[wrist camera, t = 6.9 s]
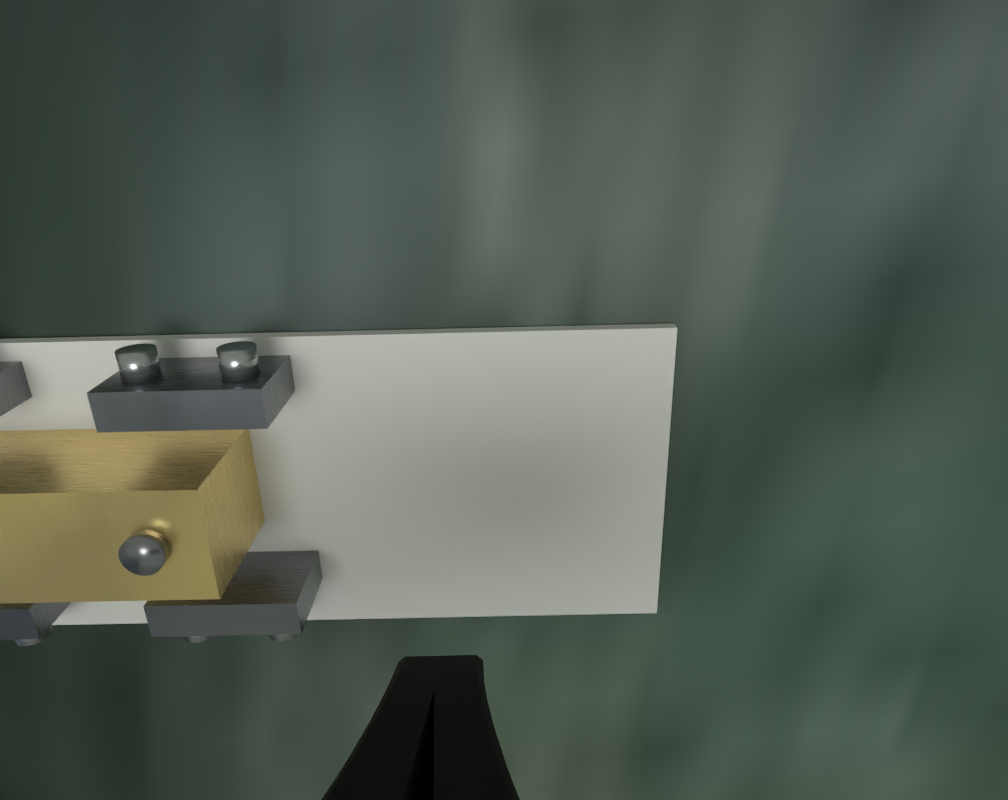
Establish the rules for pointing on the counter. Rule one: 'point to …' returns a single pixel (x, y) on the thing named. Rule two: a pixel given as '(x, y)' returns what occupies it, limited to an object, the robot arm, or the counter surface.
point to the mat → (434, 462)
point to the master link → (124, 514)
